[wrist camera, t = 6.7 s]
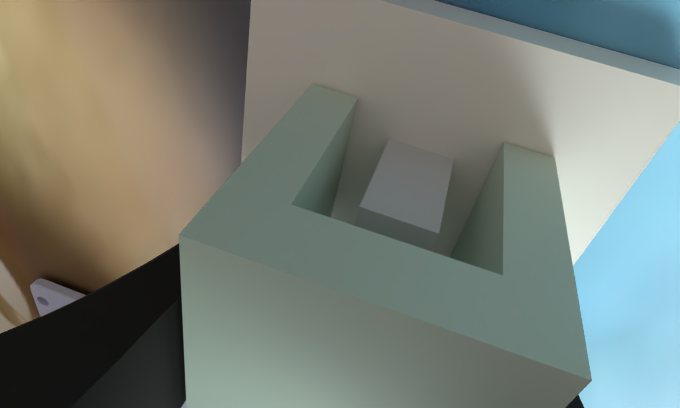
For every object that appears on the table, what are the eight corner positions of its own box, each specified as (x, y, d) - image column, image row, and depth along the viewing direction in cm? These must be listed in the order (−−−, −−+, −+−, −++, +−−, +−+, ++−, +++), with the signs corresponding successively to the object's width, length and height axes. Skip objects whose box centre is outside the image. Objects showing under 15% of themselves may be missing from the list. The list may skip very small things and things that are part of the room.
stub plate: (479, 367, 15) (471, 481, 12) (246, 281, 16) (190, 370, 13) (683, 70, 8) (762, 169, 6) (274, -45, 9) (178, -6, 7)
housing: (452, 339, 13) (428, 547, 9) (281, 278, 13) (188, 450, 9) (554, 157, 9) (592, 380, 5) (312, 83, 10) (178, 234, 6)
